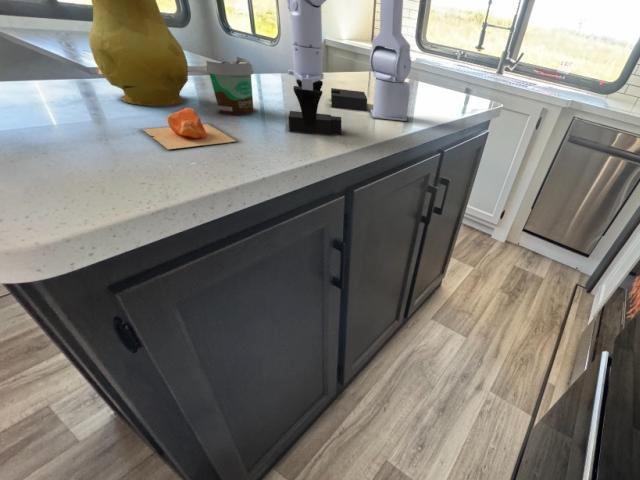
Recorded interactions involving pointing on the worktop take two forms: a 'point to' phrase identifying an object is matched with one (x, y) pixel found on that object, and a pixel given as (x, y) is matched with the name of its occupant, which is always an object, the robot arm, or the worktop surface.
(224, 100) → the food container
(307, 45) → the robot arm
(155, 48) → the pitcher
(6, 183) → the worktop surface
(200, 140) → the rock
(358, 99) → the graphite pad
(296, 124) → the black pad
